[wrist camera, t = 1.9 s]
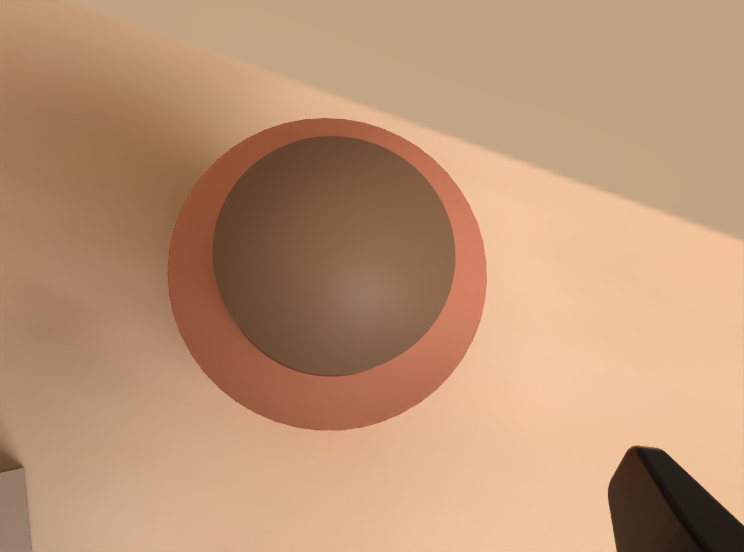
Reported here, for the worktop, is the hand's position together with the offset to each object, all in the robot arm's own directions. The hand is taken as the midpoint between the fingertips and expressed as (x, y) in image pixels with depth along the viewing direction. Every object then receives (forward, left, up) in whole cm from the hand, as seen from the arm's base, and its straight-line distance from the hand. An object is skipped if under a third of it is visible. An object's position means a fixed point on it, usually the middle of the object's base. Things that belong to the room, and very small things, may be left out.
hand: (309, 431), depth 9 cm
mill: (+2, -1, -10) cm, 10 cm away
